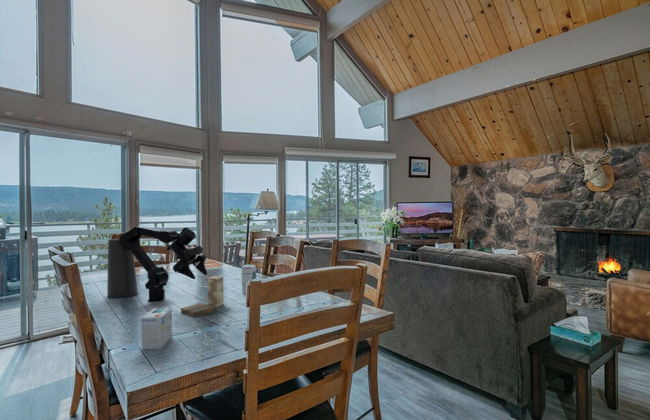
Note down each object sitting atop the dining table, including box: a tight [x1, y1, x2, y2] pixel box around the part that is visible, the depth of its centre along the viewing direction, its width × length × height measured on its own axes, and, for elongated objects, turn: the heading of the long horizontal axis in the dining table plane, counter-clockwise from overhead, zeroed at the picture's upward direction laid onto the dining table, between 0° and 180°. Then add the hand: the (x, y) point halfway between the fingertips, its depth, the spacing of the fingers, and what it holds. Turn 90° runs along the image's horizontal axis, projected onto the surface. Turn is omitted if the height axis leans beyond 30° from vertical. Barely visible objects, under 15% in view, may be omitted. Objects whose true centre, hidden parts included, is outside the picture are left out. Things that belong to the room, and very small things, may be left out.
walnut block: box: [180, 302, 215, 318], centre depth 159 cm, size 10×10×2 cm
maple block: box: [207, 275, 224, 308], centre depth 169 cm, size 5×5×13 cm
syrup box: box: [241, 264, 257, 295], centre depth 191 cm, size 6×6×14 cm
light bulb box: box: [140, 307, 173, 350], centre depth 124 cm, size 11×7×11 cm, turn 5°
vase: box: [106, 237, 138, 299], centre depth 188 cm, size 14×14×29 cm
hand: (200, 276), depth 171 cm, fingers open, 9 cm apart
